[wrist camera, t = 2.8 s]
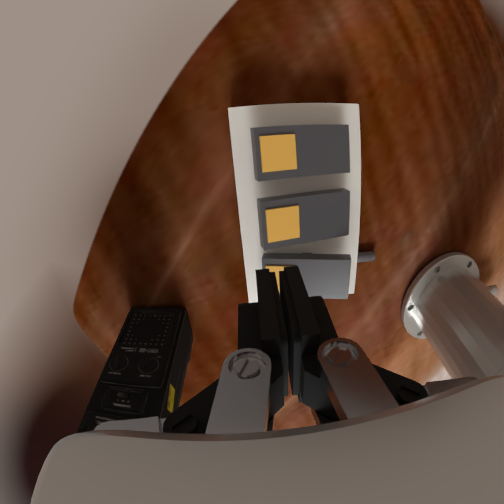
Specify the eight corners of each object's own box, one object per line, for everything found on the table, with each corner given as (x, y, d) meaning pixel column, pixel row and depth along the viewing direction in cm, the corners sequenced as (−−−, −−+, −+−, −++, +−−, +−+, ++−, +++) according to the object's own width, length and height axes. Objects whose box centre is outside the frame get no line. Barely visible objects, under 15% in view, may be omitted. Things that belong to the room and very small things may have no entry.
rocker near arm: (349, 249, 23) (351, 260, 21) (346, 287, 24) (347, 299, 22) (265, 248, 24) (261, 259, 22) (268, 285, 26) (264, 297, 24)
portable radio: (194, 302, 30) (142, 551, 7) (203, 343, 32) (173, 557, 10) (128, 303, 30) (37, 510, 7) (142, 343, 33) (82, 531, 10)
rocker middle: (338, 185, 22) (350, 191, 20) (337, 227, 23) (349, 235, 22) (253, 196, 21) (260, 202, 19) (257, 241, 22) (264, 251, 20)
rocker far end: (336, 124, 20) (349, 124, 18) (338, 168, 21) (350, 172, 20) (247, 128, 19) (254, 127, 17) (252, 177, 20) (258, 182, 18)
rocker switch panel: (376, 107, 21) (391, 106, 19) (371, 274, 29) (381, 289, 26) (230, 109, 22) (227, 107, 19) (249, 286, 29) (249, 303, 26)
